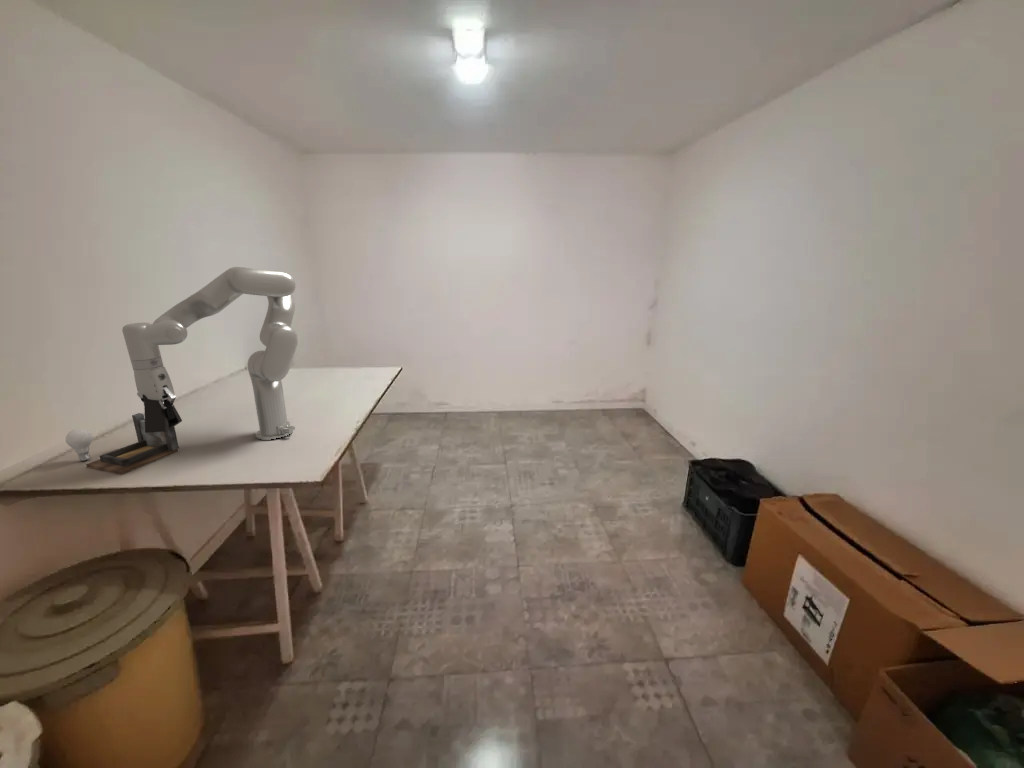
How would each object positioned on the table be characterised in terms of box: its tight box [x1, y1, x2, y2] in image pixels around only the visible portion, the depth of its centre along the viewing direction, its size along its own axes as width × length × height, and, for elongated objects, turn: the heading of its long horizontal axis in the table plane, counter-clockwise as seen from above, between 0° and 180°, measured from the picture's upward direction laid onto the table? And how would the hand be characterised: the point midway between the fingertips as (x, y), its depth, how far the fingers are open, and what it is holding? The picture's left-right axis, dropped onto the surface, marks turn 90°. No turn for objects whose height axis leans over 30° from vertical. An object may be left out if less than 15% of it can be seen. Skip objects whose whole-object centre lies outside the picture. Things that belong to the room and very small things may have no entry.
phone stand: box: [143, 394, 183, 433], centre depth 147 cm, size 9×6×12 cm, turn 5°
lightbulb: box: [65, 428, 93, 462], centre depth 151 cm, size 6×6×11 cm
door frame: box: [86, 412, 180, 476], centre depth 152 cm, size 16×18×12 cm
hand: (162, 417), depth 148 cm, fingers closed on phone stand, 6 cm apart
